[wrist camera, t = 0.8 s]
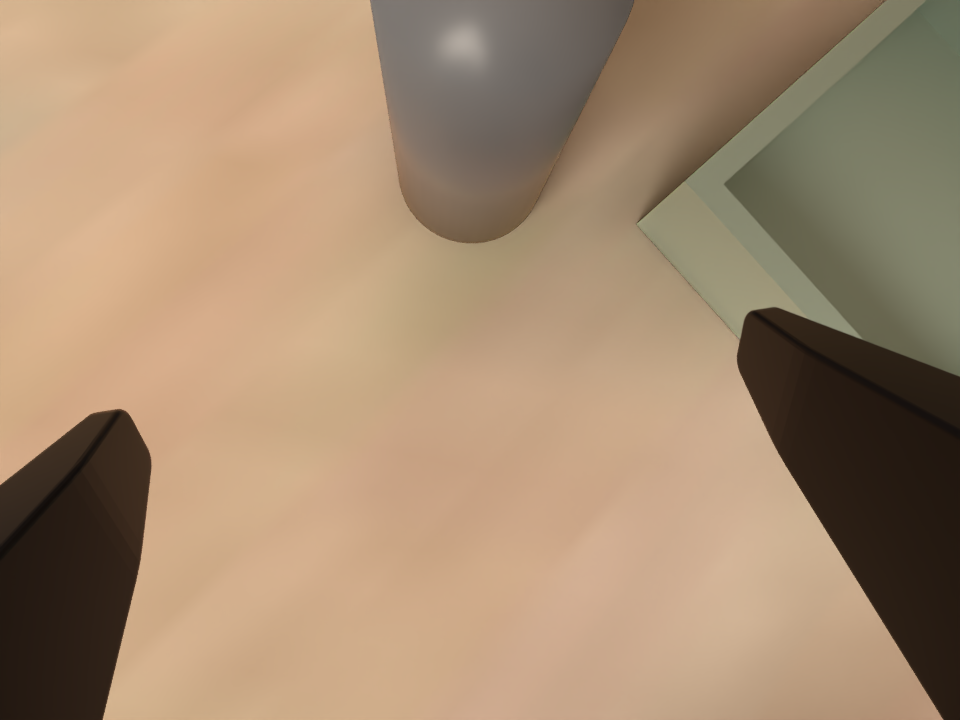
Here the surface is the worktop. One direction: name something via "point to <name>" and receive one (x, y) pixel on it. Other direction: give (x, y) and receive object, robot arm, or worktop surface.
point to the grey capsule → (486, 101)
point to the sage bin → (840, 194)
